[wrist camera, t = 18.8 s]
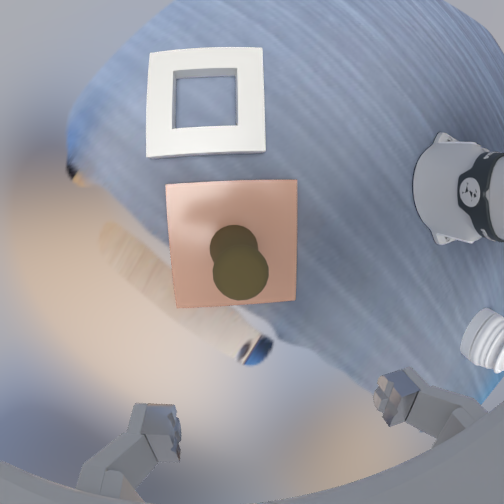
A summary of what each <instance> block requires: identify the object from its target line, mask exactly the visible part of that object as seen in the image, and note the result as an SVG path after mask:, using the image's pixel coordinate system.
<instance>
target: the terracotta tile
mask: <svg viewBox="0 0 504 504" xmlns="http://www.w3.org/2000/svg"><path fill="white" fill-rule="evenodd" d="M166 204H167V220H168V233H169V245H170V255H171V265H172V274H173V283H174V291H175V299H176V306H177V308H194V307H213V306H230V305H244V304H258V303H270V302H282V301H292V300H296V268H297V180H236V181H211V182H193V183H179V184H166ZM228 225H240V226H244V227H245V228H247V229H249V230H250V231H251V232H252V233H253V235H254V236H255V237H256V240H257V243H258V251H260V253H261V254H262V255H263V256H264V258H265V259H266V261H267V264H268V267H269V277H268V280H267V284H266V286H265V287H264V289H263V290H262V292H260V293H259V294H258V295H257V296H255V297H253V298H251V299H248V300H240V301H238V300H233V299H230V298H228V297H226V296H225V295H223V294H222V293H221V292H220V291H219V290H218V288H217V287H216V285H215V283H214V280H213V266H214V262H213V260H212V258H211V255H210V243H211V239H212V238H213V236H214V234H215V233H216V232H217V231H218V230H220V229H221V228H223V227H225V226H228Z"/></svg>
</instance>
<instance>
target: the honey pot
mask: <svg viewBox="0 0 504 504" xmlns="http://www.w3.org/2000/svg"><path fill="white" fill-rule="evenodd" d="M460 350H461V353H462V354H463V355H464V356H465V357H466V358H467V359H469V360H470V361H471V362H472V363H474V364H475V365H477V366H482V367H486V368H491V369H494V372H495V373H499V372H501V371H504V317H503V316H501V315H499V314H498V313H496V312H494V311H492V310H491V309H489V308H484V309H482V310H481V311H479V312H478V313H477V314H476V315H475V317H474V318H473V319H472V320H471V322H470V323H469V325H468V327H467V329H466V331H465V333H464V335H463V338H462V341H461V346H460Z"/></svg>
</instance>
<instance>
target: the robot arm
mask: <svg viewBox="0 0 504 504" xmlns="http://www.w3.org/2000/svg"><path fill="white" fill-rule="evenodd" d="M413 193H414V200H415V205H416V208H417V211H418V213H419V215H420V217H421V219H422V221H423V222H424V223H425V224H426V225H427V226H428V227H429V229H430V230H431V232H432V235H433V238H434V240H435V242H436V244H439V245H444V244H447V243H449V242H452V241H455V240H460V241H463V242H467V243H473V242H474V241H477V240H479V239H480V238H482V237H485V238H487V239H489V240H492V241H498V242H504V153H500V152H489V150H488V149H485V148H481V145H479V144H476V143H475V142H459V141H458V140H456V139H455V138H453V137H451V136H450V135H448V134H446V133H441V132H440V133H438V134H437V136H436V138H435V141H434V143H433V144H432V146H430V147H429V148H428V149H427V150H426V151H425V152H424V153H423V154H422V155H421V157H420V159H419V161H418V163H417V166H416V169H415V173H414V180H413ZM377 384H378V385H379V386H378V388H377V389H376V390H375V392H374V395H373V400H374V404H375V407H376V408H377V410H378V411H381V412H383V416H382V417H383V419H384V420H385V421H386V423H387V424H388V426H389V427H391V426H393V425H396V424H399V423H402V422H405V421H406V423H408V424H410V425H412V426H414V427H416V428H417V429H419V430H421V431H423V432H425V433H427V434H429V435H431V436H433V437H435V438H437V439H436V441H435V442H434V444H433V445H432V448H431V449H430V450H428V451H426V452H424V453H422V454H420V455H418V456H416V457H414V458H412V459H410V460H408V461H406V462H403V463H401V464H399V465H397V466H394V467H392V468H389V469H387V470H385V471H382V472H380V473H377V474H374V475H372V476H369V477H366V478H364V479H360V480H357V481H354V482H351V483H348V484H345V485H342V486H338V487H335V488H331V489H327V490H324V491H320V492H316V493H311V494H307V495H302V496H297V497H292V498H287V499H281V500H275V501H268V502H260V503H252V504H504V401H503V402H502V403H500V404H499V405H498V406H497V407H495V408H494V409H493V410H492V411H490V412H489V413H488V412H487V411H486V410H485V409H484V408H483V407H482V406H481V405H480V404H479V403H478V402H477V401H476V400H475V399H474V398H471V397H468V396H464V395H461V394H458V393H455V392H451V391H448V390H445V389H442V388H439V387H435V386H429V385H428V384H427V383H426V382H425V381H424V380H423V379H422V378H421V377H420V375H419V374H418V373H417V372H416V371H415V370H414V369H413V368H411V367H407V368H404V369H401V370H398V371H395V372H391V373H388V374H385V375H382V376H380V377H379V378H378V382H377ZM176 413H177V411H176V407H175V405H172V404H150V403H148V404H146V403H135V405H134V406H133V410H132V414H131V418H130V421H129V425H128V429H127V433H122V434H121V435H119V436H118V437H117V438H116V439H114V440H113V441H112V442H111V443H109V444H108V445H107V446H106V447H104V448H103V449H102V450H101V451H99V452H98V453H97V454H95V455H94V456H93V457H92V458H90V459H89V460H87V461H86V462H85V463H83V465H82V468H81V472H80V475H79V479H78V482H77V485H76V489H74V488H71V487H67V486H64V485H61V484H58V483H55V482H52V481H49V480H46V479H43V478H41V477H38V476H36V475H33V474H30V473H28V472H26V471H24V470H21V469H19V468H16V467H14V466H12V465H10V464H8V463H6V462H4V461H0V504H152V503H145V502H144V501H143V499H142V498H141V497H140V496H139V495H138V493H137V492H136V491H135V490H136V489H137V487H138V486H139V485H140V484H141V483H142V481H143V480H144V479H145V478H146V477H147V475H148V474H149V473H150V472H151V471H152V470H153V469H154V468H155V466H156V465H157V464H158V462H180V451H181V449H180V446H179V442H180V441H181V425H180V421H179V418H177V417H176Z"/></svg>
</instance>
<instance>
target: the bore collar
mask: <svg viewBox="0 0 504 504" xmlns="http://www.w3.org/2000/svg"><path fill="white" fill-rule="evenodd" d="M219 76H235V84H236V126H207V127H190V128H177V129H176V79H183V78H197V77H219ZM265 151H266V145H265V109H264V79H263V53H262V48H254V47H210V48H192V49H180V50H170V51H161V52H154V53H150V58H149V70H148V86H147V111H146V157H147V158H150V159H158V158H169V157H182V156H196V155H216V154H257V153H263V152H265Z"/></svg>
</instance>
